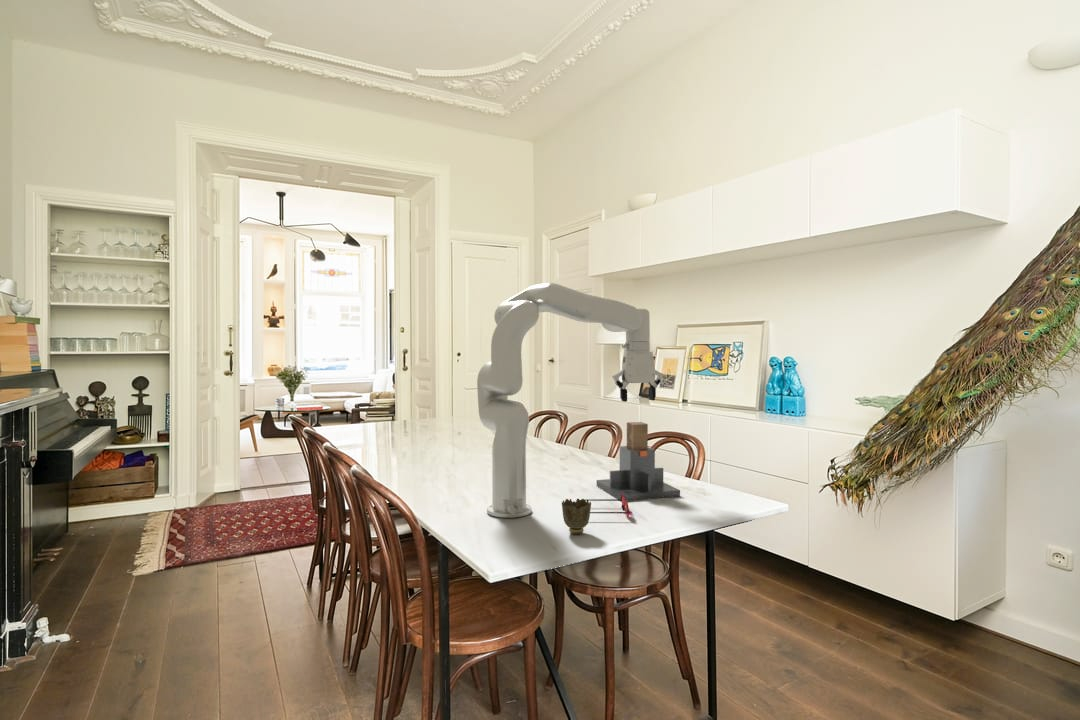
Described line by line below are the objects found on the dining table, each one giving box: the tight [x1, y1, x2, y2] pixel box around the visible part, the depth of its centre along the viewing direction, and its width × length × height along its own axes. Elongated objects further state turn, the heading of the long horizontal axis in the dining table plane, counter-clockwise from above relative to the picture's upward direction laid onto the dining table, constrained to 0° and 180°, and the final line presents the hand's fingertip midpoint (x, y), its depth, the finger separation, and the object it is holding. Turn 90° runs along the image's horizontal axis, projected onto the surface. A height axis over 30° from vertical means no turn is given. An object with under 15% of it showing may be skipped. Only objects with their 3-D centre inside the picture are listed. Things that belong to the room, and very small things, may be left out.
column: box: [626, 421, 649, 450], centre depth 194 cm, size 5×5×19 cm
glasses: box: [583, 493, 633, 519], centre depth 169 cm, size 14×16×5 cm
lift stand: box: [596, 445, 681, 502], centre depth 194 cm, size 20×20×14 cm
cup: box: [561, 498, 592, 536], centre depth 151 cm, size 8×7×8 cm
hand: (638, 400), depth 193 cm, fingers open, 9 cm apart
